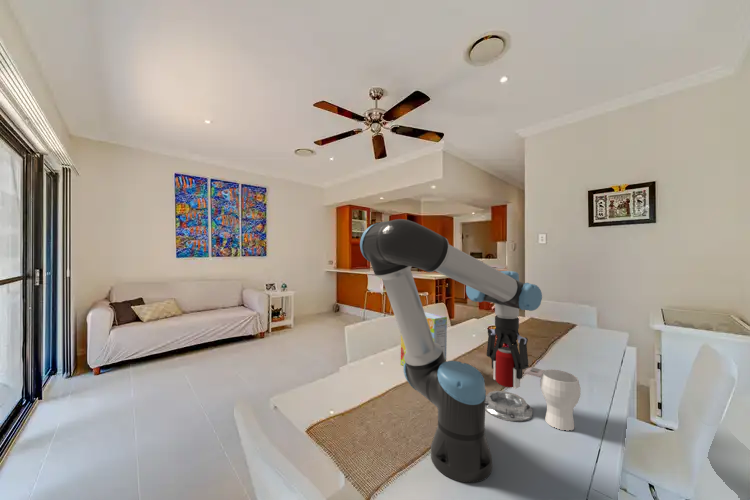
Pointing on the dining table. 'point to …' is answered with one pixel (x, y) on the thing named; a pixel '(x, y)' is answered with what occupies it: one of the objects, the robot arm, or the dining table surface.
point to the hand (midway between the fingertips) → (506, 382)
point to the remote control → (534, 371)
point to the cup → (560, 397)
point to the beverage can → (504, 367)
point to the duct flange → (507, 406)
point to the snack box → (437, 330)
